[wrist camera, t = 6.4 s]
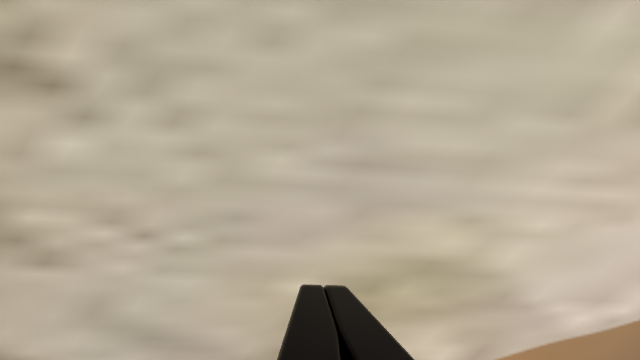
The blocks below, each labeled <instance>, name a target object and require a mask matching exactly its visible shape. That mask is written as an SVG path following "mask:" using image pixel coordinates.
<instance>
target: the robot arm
mask: <svg viewBox="0 0 640 360" xmlns="http://www.w3.org/2000/svg"><path fill="white" fill-rule="evenodd" d="M277 360H414V359H413V358H412V357H411V356H410V355H409V354H408V352H407V351H406V350H405V349H404V348H403V347H402V346H401V345H400V344H399V343H398V342H397V341H396V340H395V338H394V337H393V336H392V335H391V334H390V333H389V332H388V331H387V330H386V329H385V328H384V327H383V326H382V324H381V323H380V322H379V321H378V320H377V319H376V318H375V317H374V316H373V315H372V314H371V313H370V312H369V311H368V309H367V308H366V307H365V306H364V305H363V304H362V303H361V302H360V301H359V300H358V299H357V298H356V297H355V295H354V294H353V293H352V292H351V291H350V290H349V289H348V288H347V287H345V286H338V285H326V286H325V287H324V288H323V287H322V286H321V285H302V286H301V287H300V290H299V293H298V296H297V299H296V302H295V305H294V308H293V312H292V315H291V318H290V321H289V324H288V327H287V330H286V333H285V336H284V340H283V343H282V346H281V349H280V352H279V355H278V358H277Z"/></svg>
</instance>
